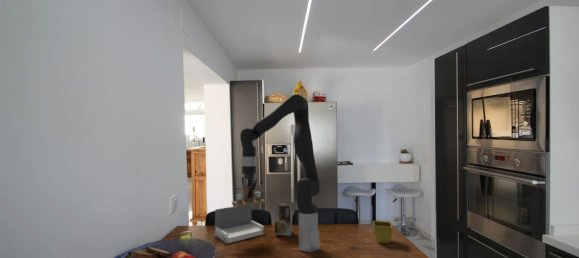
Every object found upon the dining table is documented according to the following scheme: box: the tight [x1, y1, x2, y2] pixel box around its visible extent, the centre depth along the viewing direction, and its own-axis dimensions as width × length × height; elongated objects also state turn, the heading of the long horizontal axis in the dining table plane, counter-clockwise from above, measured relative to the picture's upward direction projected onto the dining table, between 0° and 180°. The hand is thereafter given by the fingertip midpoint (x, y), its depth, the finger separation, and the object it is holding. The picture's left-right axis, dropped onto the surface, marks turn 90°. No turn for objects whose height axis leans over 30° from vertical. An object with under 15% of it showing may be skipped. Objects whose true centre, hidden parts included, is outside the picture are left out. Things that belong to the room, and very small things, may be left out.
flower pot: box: [373, 220, 393, 244], centre depth 130 cm, size 9×9×9 cm
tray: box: [231, 184, 267, 207], centre depth 138 cm, size 8×16×10 cm, turn 126°
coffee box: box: [273, 203, 293, 237], centre depth 144 cm, size 9×6×16 cm
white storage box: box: [214, 205, 265, 244], centre depth 144 cm, size 16×22×14 cm
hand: (248, 197), depth 138 cm, fingers closed on tray, 3 cm apart
